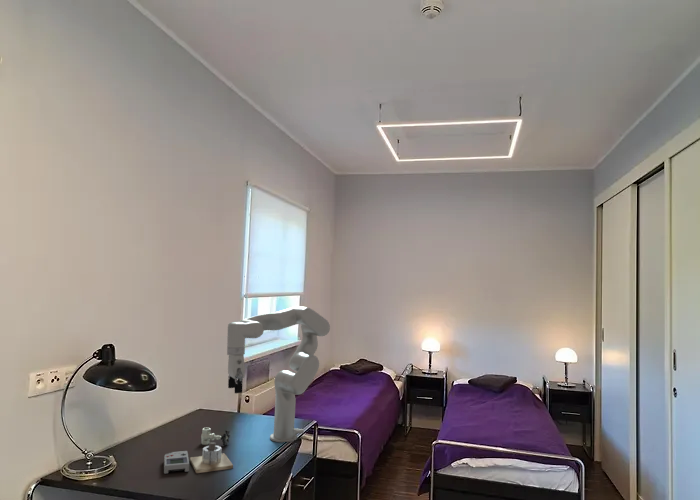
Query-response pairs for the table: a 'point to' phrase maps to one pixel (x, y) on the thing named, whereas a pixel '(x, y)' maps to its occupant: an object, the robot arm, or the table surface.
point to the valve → (213, 437)
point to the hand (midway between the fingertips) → (235, 390)
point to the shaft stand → (202, 467)
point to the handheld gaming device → (176, 461)
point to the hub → (211, 455)
